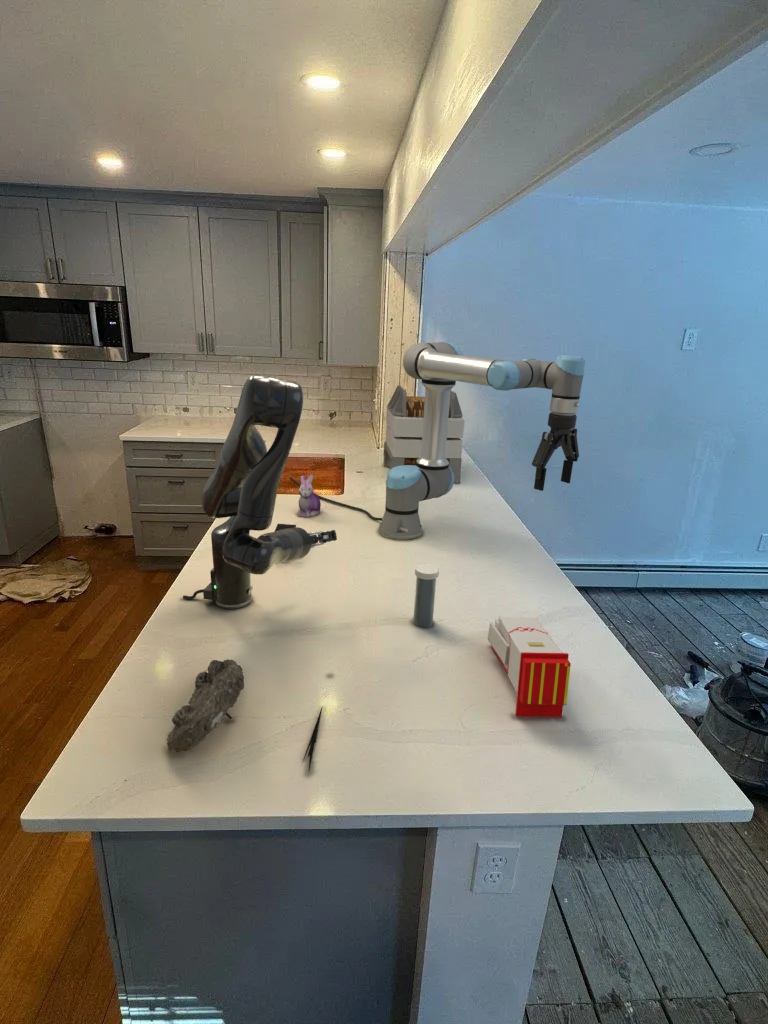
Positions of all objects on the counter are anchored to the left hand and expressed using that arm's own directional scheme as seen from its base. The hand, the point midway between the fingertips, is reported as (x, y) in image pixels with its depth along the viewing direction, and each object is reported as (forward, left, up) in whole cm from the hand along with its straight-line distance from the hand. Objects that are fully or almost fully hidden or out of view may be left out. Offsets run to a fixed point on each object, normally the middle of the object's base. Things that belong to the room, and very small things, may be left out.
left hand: (319, 538), depth 147 cm
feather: (+12, -46, -18) cm, 51 cm away
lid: (+29, -6, -3) cm, 29 cm away
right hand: (+61, +32, +10) cm, 70 cm away
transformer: (+15, +133, -18) cm, 135 cm away
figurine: (-21, +64, -18) cm, 70 cm away
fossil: (-8, -49, -18) cm, 53 cm away
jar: (+28, -6, -18) cm, 34 cm away
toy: (+52, -24, -18) cm, 59 cm away
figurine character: (-19, +27, -18) cm, 37 cm away
